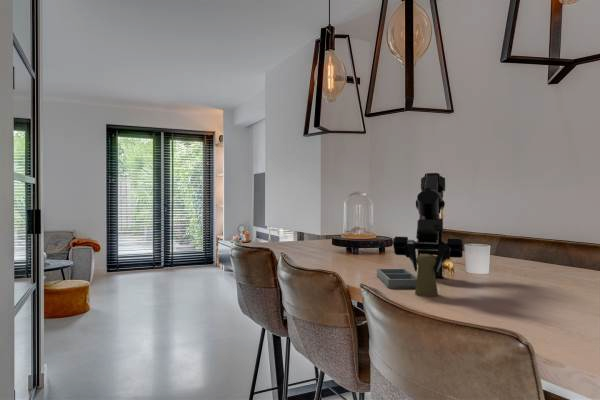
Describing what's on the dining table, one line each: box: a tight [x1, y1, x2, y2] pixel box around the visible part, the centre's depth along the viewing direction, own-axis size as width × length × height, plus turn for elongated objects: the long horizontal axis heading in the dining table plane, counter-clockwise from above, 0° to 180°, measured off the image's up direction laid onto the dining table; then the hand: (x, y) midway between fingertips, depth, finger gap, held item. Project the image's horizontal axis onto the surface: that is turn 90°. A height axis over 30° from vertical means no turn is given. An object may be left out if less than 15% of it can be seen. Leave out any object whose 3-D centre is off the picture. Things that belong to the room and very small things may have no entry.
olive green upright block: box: [414, 254, 439, 298], centre depth 115 cm, size 6×6×11 cm
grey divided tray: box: [376, 268, 417, 289], centre depth 132 cm, size 10×18×2 cm, turn 0°
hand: (425, 271), depth 114 cm, fingers closed on olive green upright block, 5 cm apart
